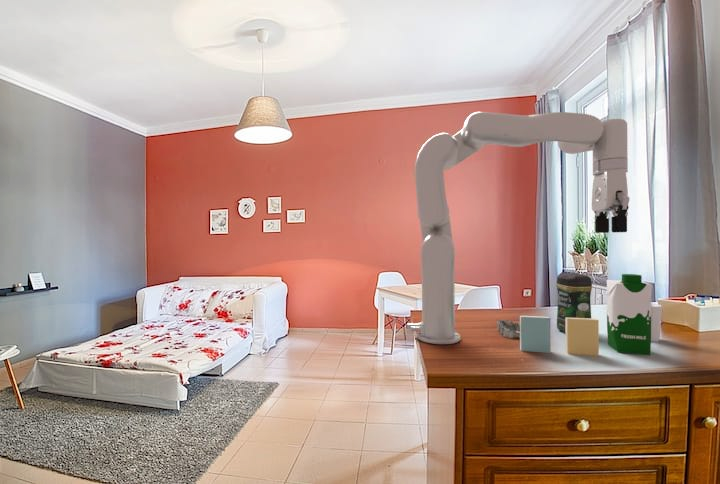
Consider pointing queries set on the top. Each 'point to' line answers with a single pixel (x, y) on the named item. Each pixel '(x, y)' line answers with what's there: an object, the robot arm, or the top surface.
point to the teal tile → (535, 334)
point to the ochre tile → (582, 336)
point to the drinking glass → (655, 322)
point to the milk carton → (629, 314)
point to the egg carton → (509, 328)
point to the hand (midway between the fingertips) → (610, 232)
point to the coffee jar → (573, 297)
